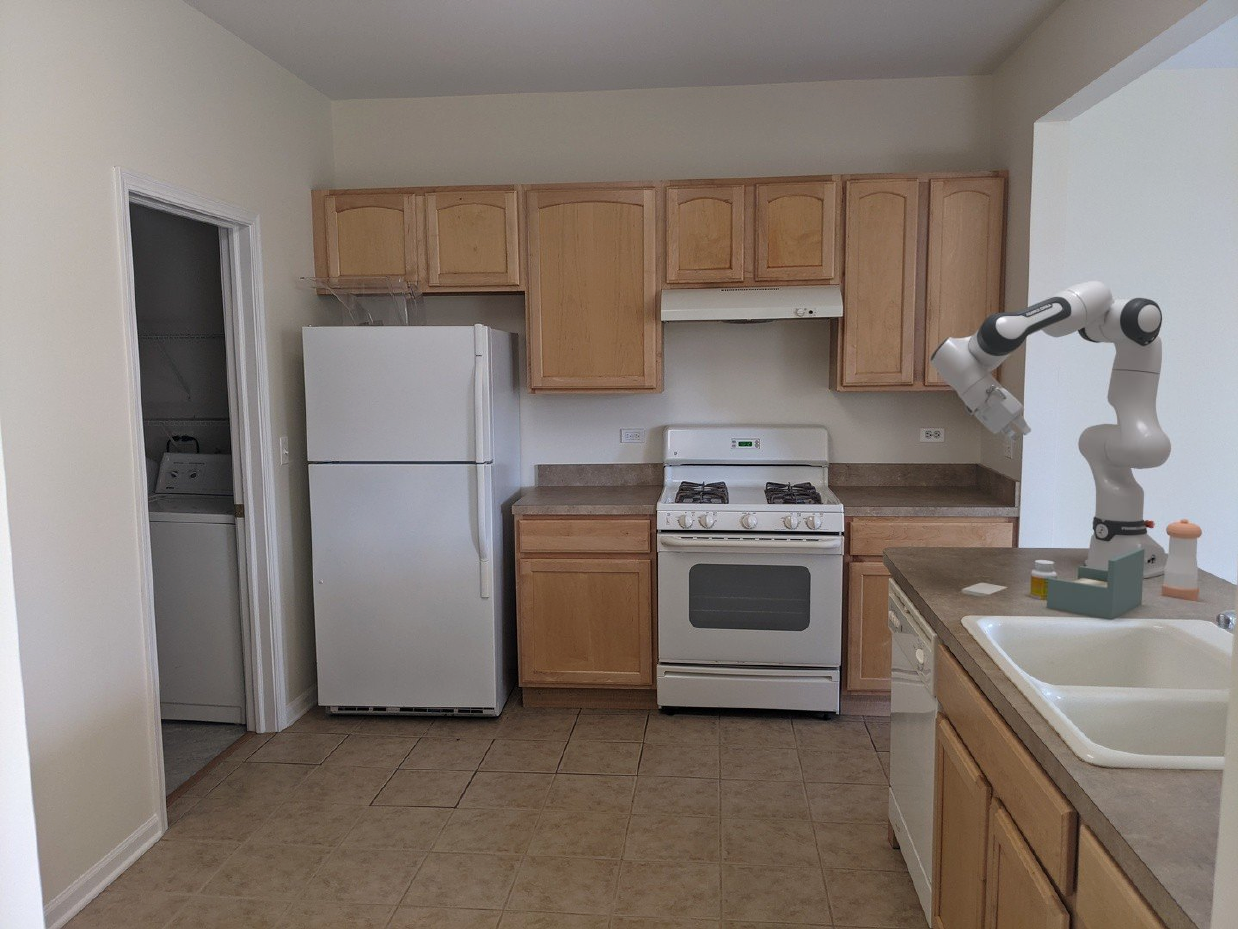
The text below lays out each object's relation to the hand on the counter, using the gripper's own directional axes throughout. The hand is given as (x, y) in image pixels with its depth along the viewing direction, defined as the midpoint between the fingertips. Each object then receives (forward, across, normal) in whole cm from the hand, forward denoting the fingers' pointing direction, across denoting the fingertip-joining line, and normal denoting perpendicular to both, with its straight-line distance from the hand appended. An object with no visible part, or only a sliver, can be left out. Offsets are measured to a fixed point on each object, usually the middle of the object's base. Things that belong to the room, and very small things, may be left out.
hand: (1023, 437), depth 213 cm
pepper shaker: (+51, +6, -2) cm, 51 cm away
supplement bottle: (+32, -2, +24) cm, 40 cm away
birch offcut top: (+35, -9, +15) cm, 40 cm away
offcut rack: (+39, -8, +18) cm, 43 cm away
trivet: (+24, +5, +30) cm, 38 cm away
